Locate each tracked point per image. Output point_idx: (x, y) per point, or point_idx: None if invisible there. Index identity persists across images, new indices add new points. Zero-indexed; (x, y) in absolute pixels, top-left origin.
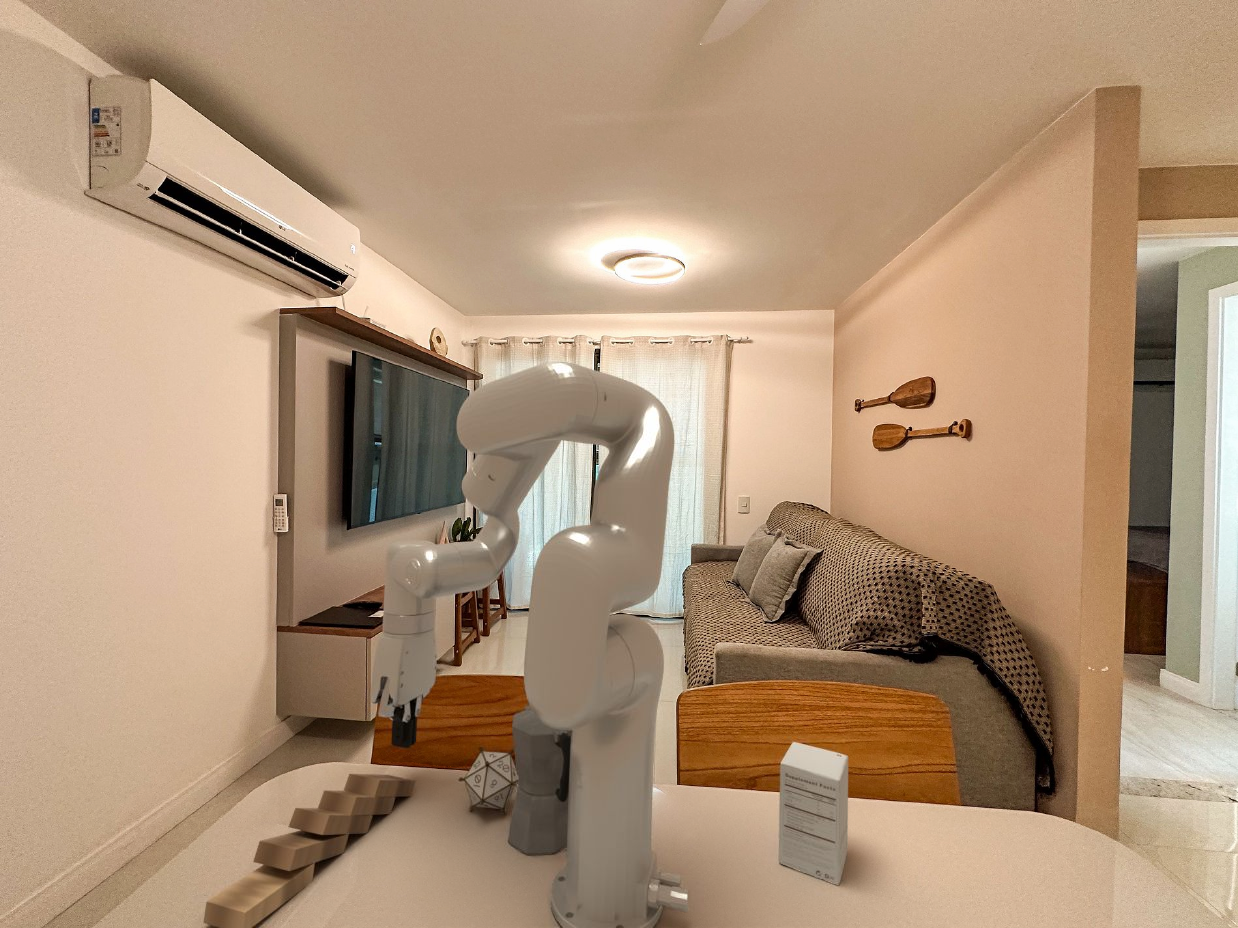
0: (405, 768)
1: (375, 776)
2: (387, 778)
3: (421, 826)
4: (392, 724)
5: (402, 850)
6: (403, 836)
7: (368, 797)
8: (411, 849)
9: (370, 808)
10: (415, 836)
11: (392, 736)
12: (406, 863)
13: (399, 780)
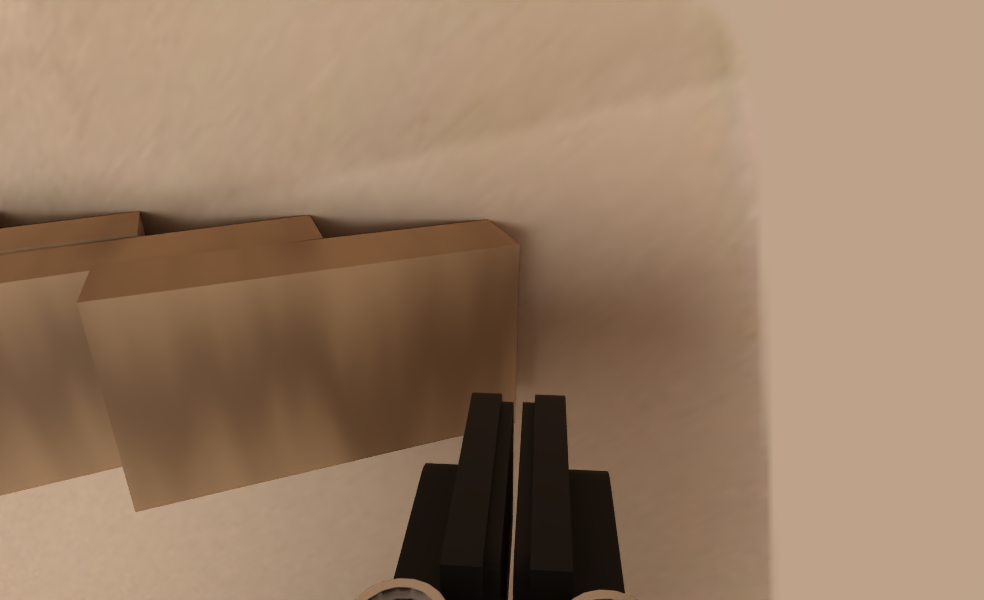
0: (745, 192)
1: (275, 361)
2: (313, 416)
3: (316, 526)
4: (453, 508)
5: (177, 535)
6: (237, 501)
7: (75, 475)
8: (197, 556)
9: None
10: (258, 535)
11: (468, 433)
12: (138, 574)
13: (355, 458)
